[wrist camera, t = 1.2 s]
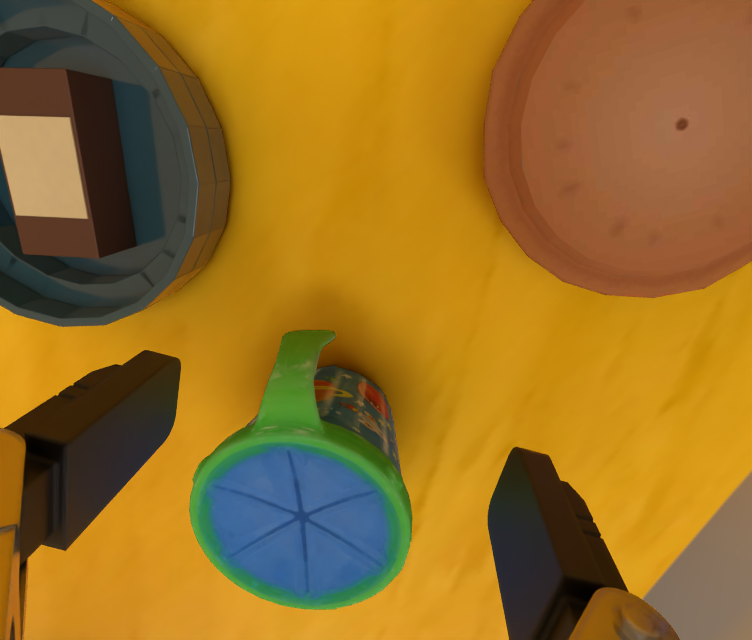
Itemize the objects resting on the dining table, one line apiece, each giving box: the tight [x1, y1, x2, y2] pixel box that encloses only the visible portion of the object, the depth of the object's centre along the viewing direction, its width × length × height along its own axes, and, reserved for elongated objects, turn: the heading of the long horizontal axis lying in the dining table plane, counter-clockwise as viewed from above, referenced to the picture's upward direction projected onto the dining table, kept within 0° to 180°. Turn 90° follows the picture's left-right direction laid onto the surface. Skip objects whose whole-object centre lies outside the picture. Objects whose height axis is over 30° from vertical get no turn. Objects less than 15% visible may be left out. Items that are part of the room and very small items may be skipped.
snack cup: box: [189, 330, 412, 610], centre depth 26 cm, size 16×10×10 cm
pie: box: [484, 0, 752, 298], centre depth 21 cm, size 15×16×5 cm
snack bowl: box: [0, 0, 231, 327], centre depth 25 cm, size 17×17×4 cm
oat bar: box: [0, 67, 136, 259], centre depth 25 cm, size 9×4×4 cm, turn 178°
